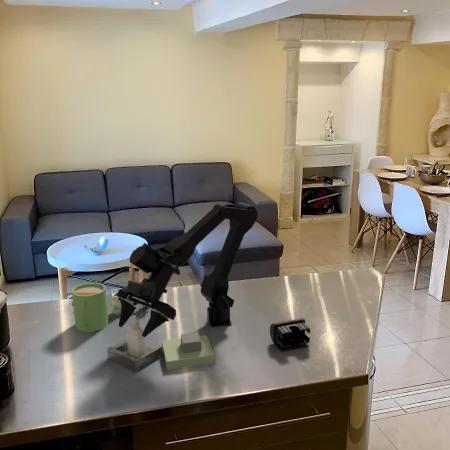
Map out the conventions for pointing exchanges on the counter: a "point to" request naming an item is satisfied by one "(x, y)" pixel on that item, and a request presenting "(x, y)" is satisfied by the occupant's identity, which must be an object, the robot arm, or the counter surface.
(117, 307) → the valve
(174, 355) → the deck plate
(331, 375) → the counter surface
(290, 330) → the end cap
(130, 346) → the eye dropper bottle
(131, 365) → the grey square tray
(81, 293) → the mug
